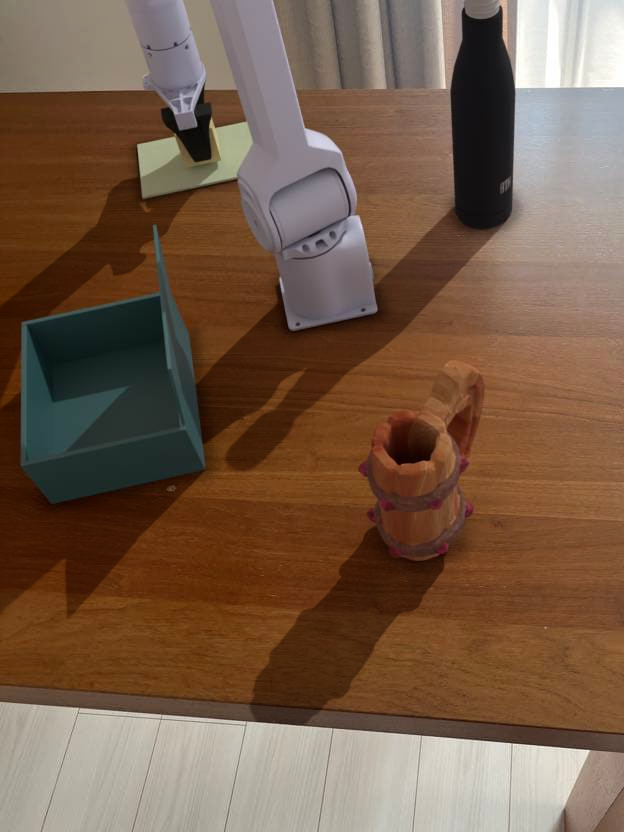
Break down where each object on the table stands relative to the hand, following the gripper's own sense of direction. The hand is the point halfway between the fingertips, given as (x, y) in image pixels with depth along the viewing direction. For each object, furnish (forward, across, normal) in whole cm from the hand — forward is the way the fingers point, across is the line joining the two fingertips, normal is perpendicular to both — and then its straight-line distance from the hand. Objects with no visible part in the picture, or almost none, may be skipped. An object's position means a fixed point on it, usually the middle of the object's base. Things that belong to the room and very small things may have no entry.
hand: (200, 145), depth 106 cm
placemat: (+2, 0, 0) cm, 2 cm away
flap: (-9, +37, -4) cm, 38 cm away
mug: (+2, +56, +16) cm, 58 cm away
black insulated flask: (+2, +19, +30) cm, 36 cm away
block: (+1, 0, 0) cm, 1 cm away
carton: (+2, +37, -12) cm, 39 cm away
